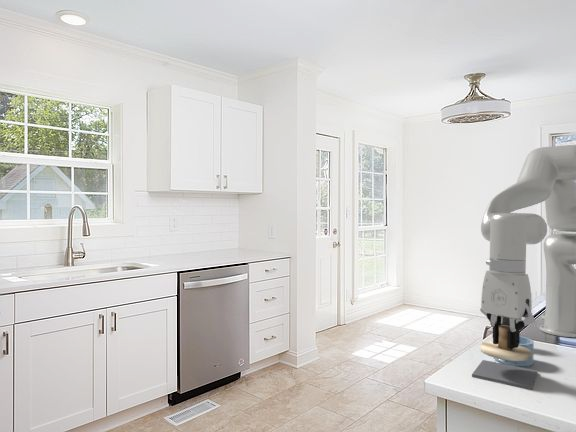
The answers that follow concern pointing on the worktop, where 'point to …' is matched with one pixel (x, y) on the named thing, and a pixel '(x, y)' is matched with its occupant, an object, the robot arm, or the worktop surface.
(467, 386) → the worktop surface
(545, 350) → the worktop surface
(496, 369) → the mat
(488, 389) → the worktop surface
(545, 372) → the worktop surface
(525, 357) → the lid
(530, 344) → the bowl
